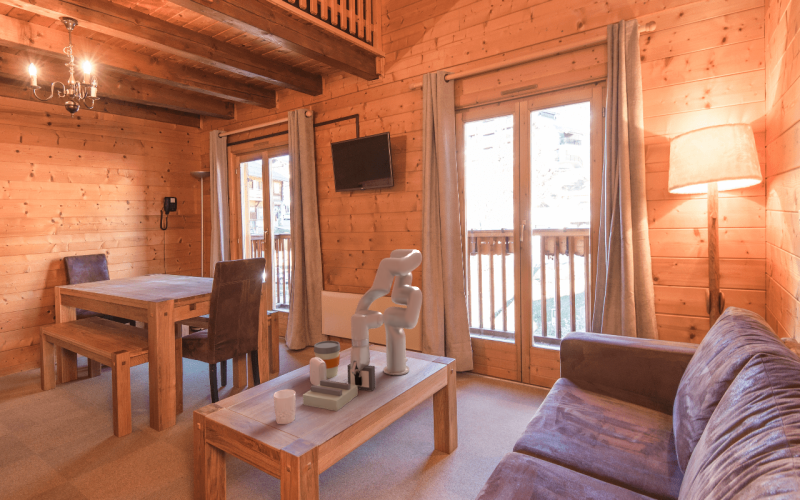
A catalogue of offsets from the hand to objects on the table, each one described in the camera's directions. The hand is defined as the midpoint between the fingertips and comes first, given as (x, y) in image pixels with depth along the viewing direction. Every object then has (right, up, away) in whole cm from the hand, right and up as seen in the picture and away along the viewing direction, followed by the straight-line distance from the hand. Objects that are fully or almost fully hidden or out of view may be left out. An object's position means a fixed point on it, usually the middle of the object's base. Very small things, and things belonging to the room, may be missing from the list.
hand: (361, 382), depth 175 cm
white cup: (-25, -5, -28) cm, 38 cm away
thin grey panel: (0, -2, 0) cm, 2 cm away
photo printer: (-20, -3, +5) cm, 21 cm away
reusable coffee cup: (-18, -2, +17) cm, 24 cm away
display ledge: (-11, -3, -11) cm, 16 cm away
